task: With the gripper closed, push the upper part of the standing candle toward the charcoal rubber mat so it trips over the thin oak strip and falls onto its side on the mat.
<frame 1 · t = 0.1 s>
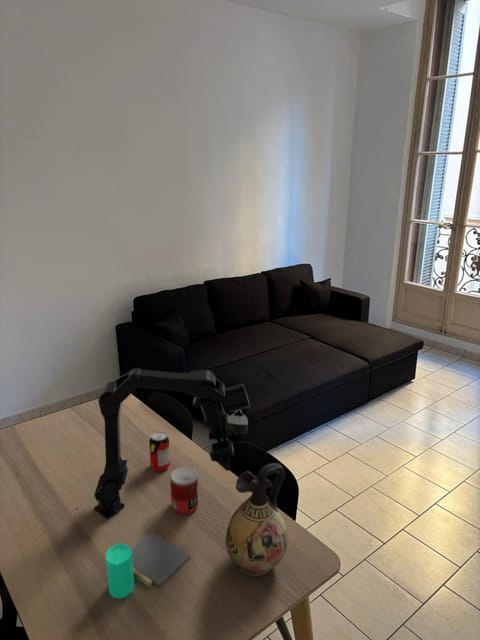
hand: (227, 460, 138), 15 cm above the table, tool pointing down, fingers open, 9 cm apart
strip: (136, 575, 119), on the table
beverage can: (160, 467, 160), on the table
mat: (155, 558, 124), on the table
ceramic jug: (258, 562, 123), on the table
candle: (121, 588, 115), on the table
canned food: (184, 506, 142), on the table
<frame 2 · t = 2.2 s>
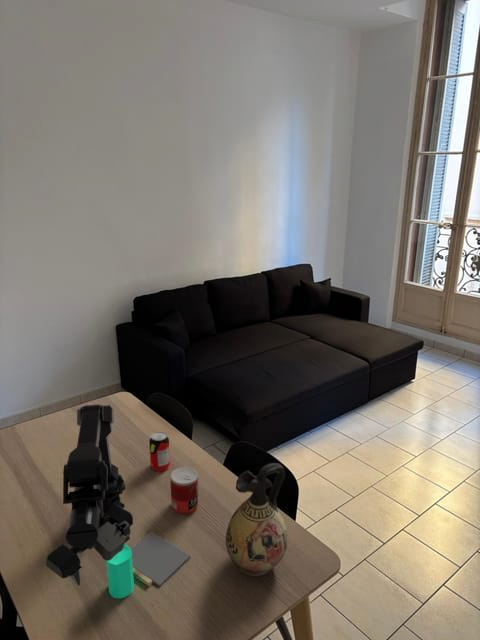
hand: (95, 569, 104), 13 cm above the table, tool pointing down, fingers open, 9 cm apart
nothing on the table moved.
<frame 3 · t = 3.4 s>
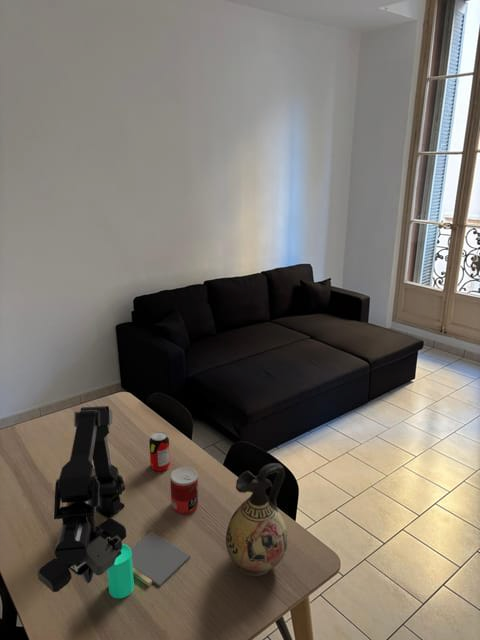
hand: (87, 581, 105), 10 cm above the table, tool pointing down, fingers closed
nothing on the table moved.
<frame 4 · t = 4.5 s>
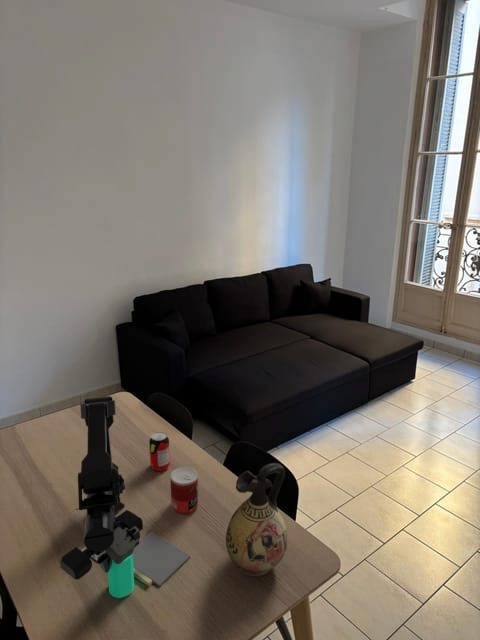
hand: (106, 571, 109), 9 cm above the table, tool pointing down, fingers closed
candle: (121, 588, 115), on the table, touching gripper
everything else where it was.
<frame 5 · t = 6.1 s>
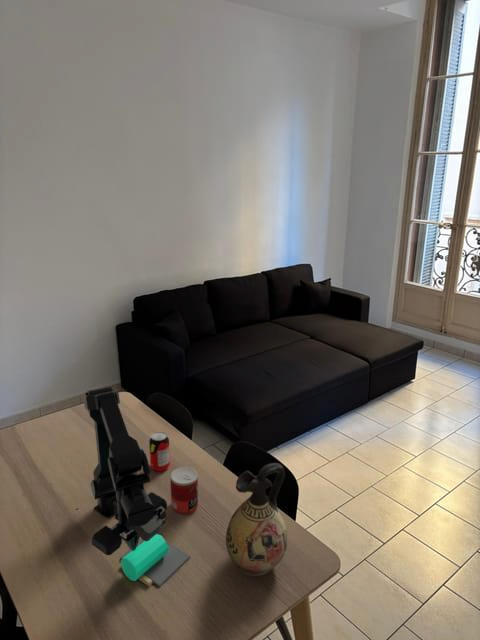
hand: (133, 549, 116), 8 cm above the table, tool pointing down, fingers closed
candle: (128, 570, 116), point 4 cm above the table, touching mat, strip
everything else where it was.
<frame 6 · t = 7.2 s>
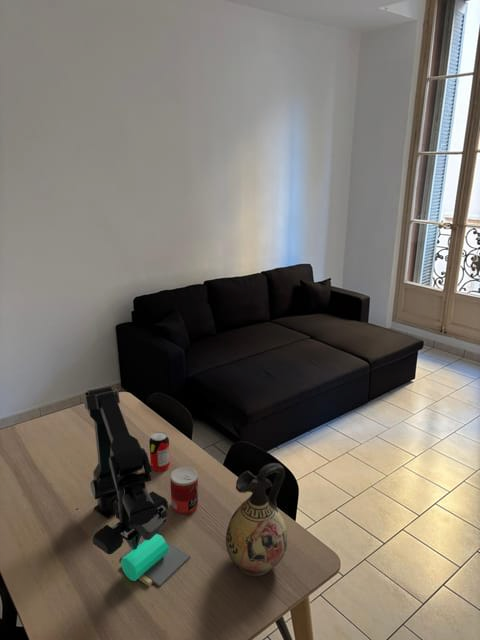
hand: (134, 548, 116), 9 cm above the table, tool pointing down, fingers closed
nothing on the table moved.
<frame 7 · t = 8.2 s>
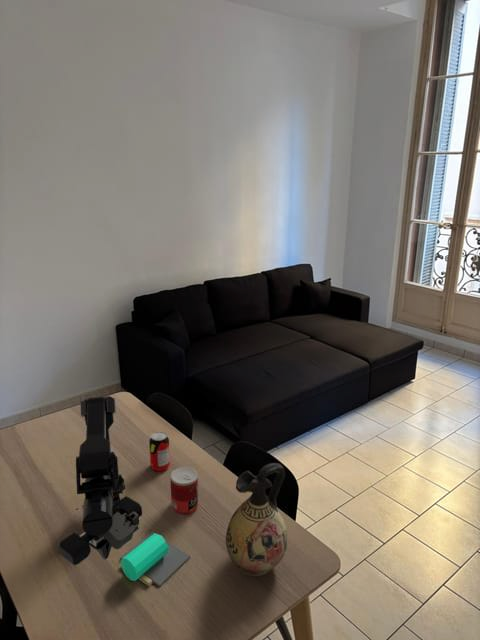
hand: (105, 557, 108), 13 cm above the table, tool pointing down, fingers closed
nothing on the table moved.
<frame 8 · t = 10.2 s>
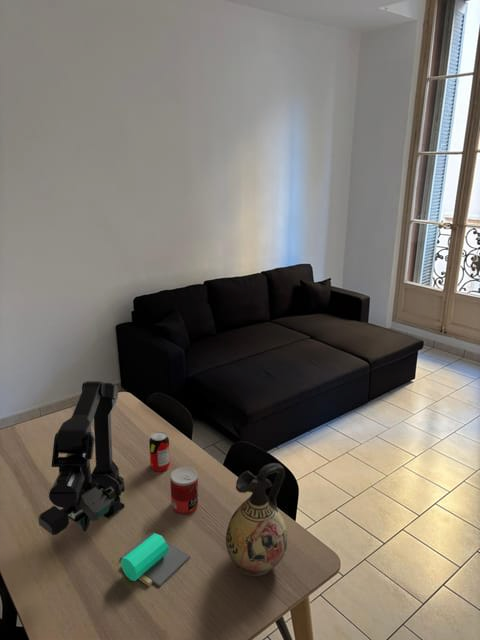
hand: (84, 531, 115), 13 cm above the table, tool pointing down, fingers closed
nothing on the table moved.
at the end: candle tilted 90°; candle inside the target area (6.9 cm from its centre), point 3.6 cm above the table; the gripper is holding nothing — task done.
